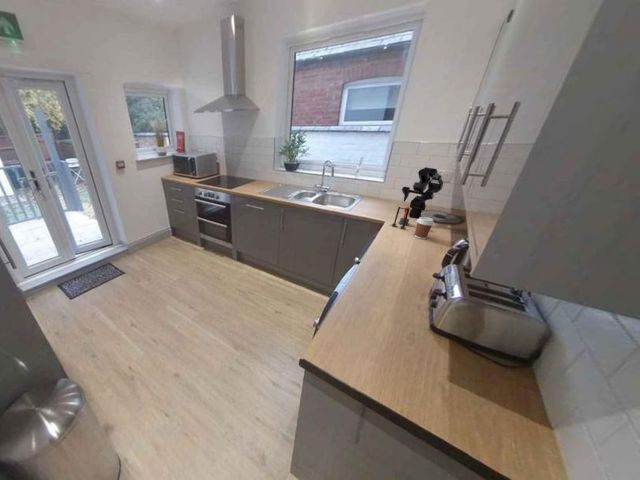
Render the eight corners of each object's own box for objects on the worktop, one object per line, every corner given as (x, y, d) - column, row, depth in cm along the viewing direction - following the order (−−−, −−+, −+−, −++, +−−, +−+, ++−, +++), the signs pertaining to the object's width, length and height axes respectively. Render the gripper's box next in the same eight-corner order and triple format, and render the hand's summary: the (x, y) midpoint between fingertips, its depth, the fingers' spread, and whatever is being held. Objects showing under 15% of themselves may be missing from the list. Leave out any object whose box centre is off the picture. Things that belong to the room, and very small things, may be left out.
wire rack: (393, 225, 176) (398, 206, 170) (404, 228, 171) (410, 209, 164) (391, 225, 175) (397, 206, 168) (403, 229, 170) (409, 209, 163)
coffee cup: (419, 232, 165) (425, 215, 159) (432, 238, 157) (439, 220, 152) (408, 234, 162) (414, 217, 157) (421, 240, 155) (427, 222, 149)
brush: (400, 221, 181) (405, 205, 175) (408, 223, 177) (414, 207, 172) (397, 224, 177) (401, 207, 172) (405, 226, 174) (410, 209, 168)
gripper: (406, 175, 176) (395, 193, 176) (437, 180, 163) (425, 200, 163) (408, 183, 184) (397, 201, 184) (438, 189, 171) (426, 208, 170)
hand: (411, 203), depth 175 cm, fingers open, 9 cm apart
